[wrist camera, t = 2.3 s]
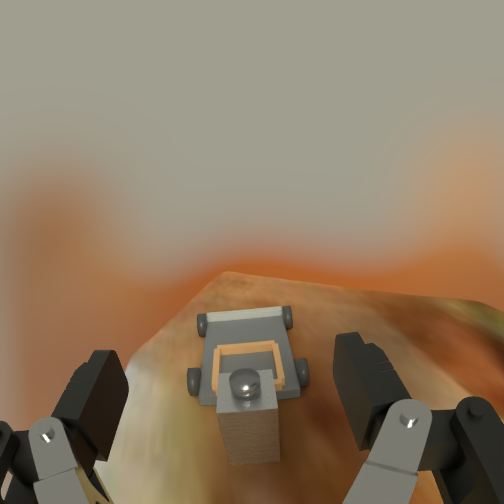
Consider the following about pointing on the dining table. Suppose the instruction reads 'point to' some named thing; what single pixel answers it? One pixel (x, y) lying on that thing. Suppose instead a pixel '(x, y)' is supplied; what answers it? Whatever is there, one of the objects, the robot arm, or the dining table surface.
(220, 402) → the block
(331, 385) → the dining table surface
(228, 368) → the chassis
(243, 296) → the dining table surface
